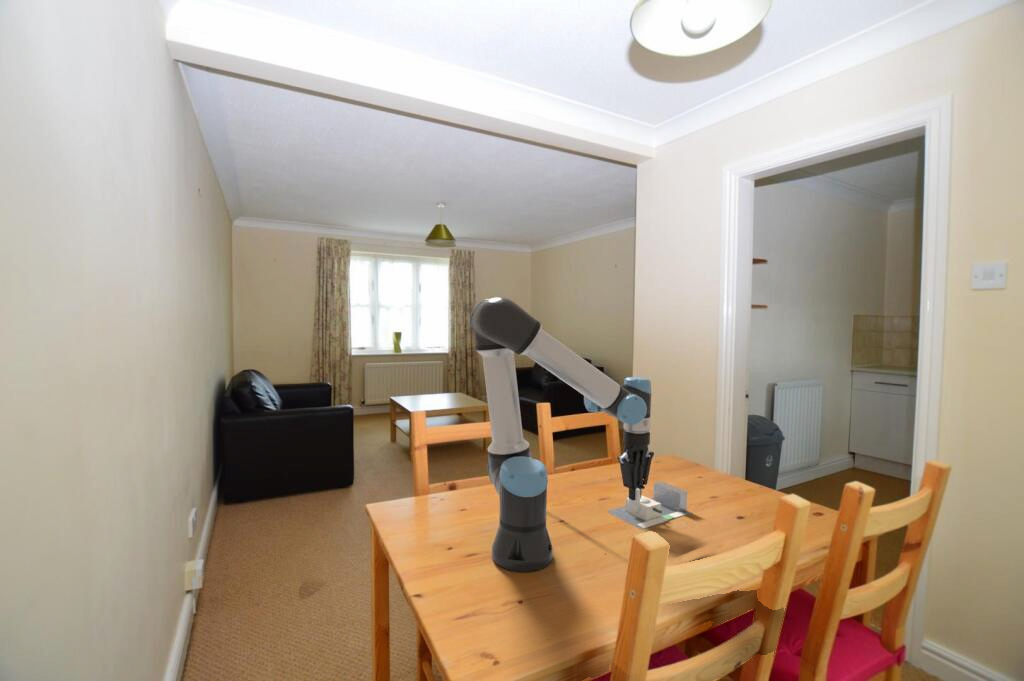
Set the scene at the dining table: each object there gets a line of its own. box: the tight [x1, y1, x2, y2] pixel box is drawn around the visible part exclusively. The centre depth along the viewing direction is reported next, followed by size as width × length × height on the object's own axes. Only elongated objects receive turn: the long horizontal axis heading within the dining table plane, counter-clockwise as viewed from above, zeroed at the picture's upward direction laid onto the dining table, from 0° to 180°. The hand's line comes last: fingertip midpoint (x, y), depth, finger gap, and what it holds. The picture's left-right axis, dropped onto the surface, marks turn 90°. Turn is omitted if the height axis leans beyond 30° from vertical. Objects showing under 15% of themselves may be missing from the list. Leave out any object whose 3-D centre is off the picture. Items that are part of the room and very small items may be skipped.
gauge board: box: [606, 497, 693, 530], centre depth 141 cm, size 22×14×2 cm, turn 122°
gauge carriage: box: [625, 494, 662, 521], centre depth 138 cm, size 6×11×4 cm, turn 32°
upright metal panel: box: [653, 481, 688, 512], centre depth 145 cm, size 3×10×6 cm, turn 32°
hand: (634, 509), depth 137 cm, fingers closed
